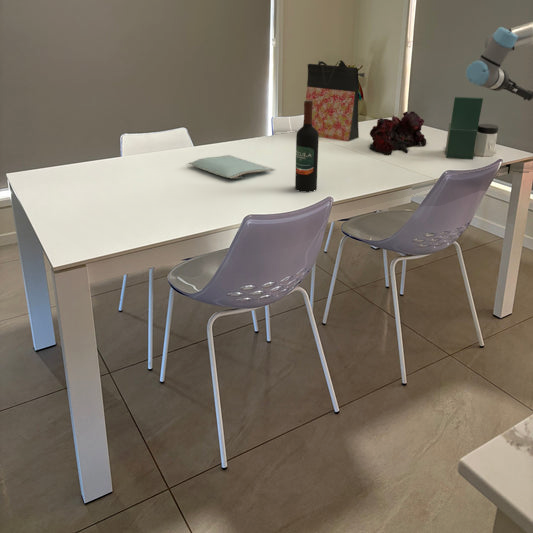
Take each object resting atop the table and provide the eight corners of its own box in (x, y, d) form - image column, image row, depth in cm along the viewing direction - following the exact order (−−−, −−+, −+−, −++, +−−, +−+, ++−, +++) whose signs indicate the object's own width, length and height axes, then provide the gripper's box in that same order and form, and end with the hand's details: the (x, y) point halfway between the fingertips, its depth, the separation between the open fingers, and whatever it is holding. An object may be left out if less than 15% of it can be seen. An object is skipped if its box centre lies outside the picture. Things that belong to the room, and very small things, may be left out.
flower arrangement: (396, 157, 246) (400, 121, 240) (357, 149, 258) (360, 114, 252) (433, 144, 267) (437, 110, 261) (395, 137, 279) (398, 105, 273)
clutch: (228, 162, 245) (187, 166, 232) (228, 151, 243) (187, 155, 230) (272, 176, 225) (231, 182, 213) (273, 165, 224) (231, 170, 211)
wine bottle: (321, 189, 206) (324, 102, 194) (304, 193, 202) (306, 104, 190) (307, 184, 212) (310, 98, 199) (290, 187, 208) (292, 101, 195)
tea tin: (445, 150, 256) (449, 123, 251) (470, 151, 254) (474, 124, 249) (446, 157, 245) (450, 129, 240) (472, 159, 243) (477, 130, 238)
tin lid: (454, 96, 232) (454, 97, 231) (483, 97, 230) (483, 98, 229) (450, 127, 241) (450, 128, 240) (477, 129, 238) (477, 130, 238)
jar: (479, 157, 246) (483, 128, 241) (469, 152, 253) (473, 124, 248) (498, 155, 248) (503, 127, 243) (487, 151, 255) (492, 123, 250)
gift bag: (298, 135, 284) (300, 58, 269) (314, 130, 294) (316, 56, 279) (352, 143, 268) (357, 62, 253) (366, 137, 278) (372, 60, 263)
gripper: (462, 71, 219) (488, 80, 234) (514, 105, 207) (538, 112, 221) (474, 52, 215) (500, 62, 230) (528, 86, 203) (551, 94, 218)
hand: (518, 87), depth 226 cm, fingers open, 13 cm apart
